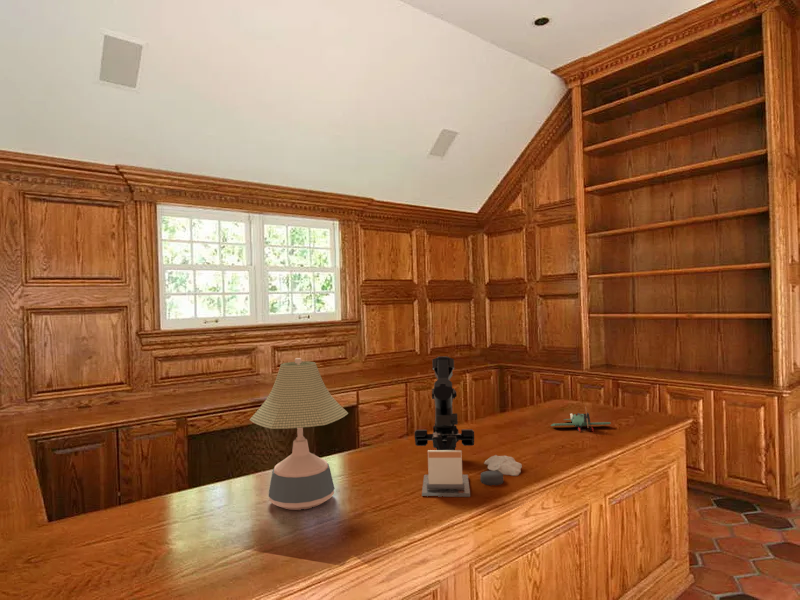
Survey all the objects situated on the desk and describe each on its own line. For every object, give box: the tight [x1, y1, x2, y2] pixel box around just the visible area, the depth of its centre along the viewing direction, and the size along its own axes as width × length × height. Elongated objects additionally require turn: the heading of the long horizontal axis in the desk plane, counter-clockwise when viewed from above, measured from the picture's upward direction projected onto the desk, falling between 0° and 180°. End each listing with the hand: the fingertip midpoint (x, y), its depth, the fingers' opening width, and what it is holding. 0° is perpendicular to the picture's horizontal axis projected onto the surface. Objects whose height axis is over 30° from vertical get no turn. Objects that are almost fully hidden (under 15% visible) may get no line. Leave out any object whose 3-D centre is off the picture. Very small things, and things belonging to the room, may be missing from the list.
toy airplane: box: [550, 406, 612, 432], centre depth 221 cm, size 22×25×11 cm
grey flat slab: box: [421, 474, 471, 498], centre depth 153 cm, size 16×14×1 cm
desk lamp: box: [249, 357, 349, 511], centre depth 146 cm, size 26×28×42 cm
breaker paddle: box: [427, 449, 464, 489], centre depth 149 cm, size 2×11×11 cm, turn 85°
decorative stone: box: [483, 454, 523, 477], centre depth 168 cm, size 11×4×15 cm
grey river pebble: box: [480, 470, 504, 486], centre depth 157 cm, size 7×7×2 cm
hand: (444, 462), depth 153 cm, fingers closed
